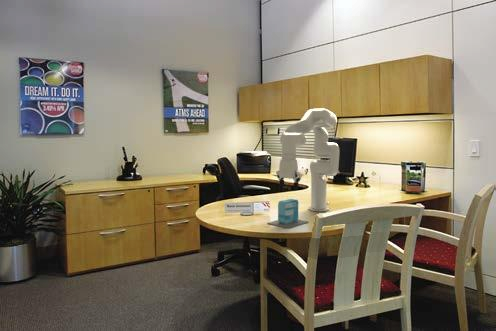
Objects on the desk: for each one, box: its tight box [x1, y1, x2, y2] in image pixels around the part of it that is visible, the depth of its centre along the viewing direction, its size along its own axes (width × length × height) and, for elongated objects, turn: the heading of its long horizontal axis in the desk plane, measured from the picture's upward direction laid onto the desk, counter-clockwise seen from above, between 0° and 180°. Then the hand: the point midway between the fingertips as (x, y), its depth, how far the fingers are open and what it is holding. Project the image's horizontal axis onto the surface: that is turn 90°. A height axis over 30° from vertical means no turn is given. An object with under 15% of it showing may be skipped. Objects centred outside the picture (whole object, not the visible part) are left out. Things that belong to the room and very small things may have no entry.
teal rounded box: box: [277, 198, 299, 224], centre depth 214 cm, size 12×4×12 cm, turn 134°
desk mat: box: [267, 218, 309, 229], centre depth 214 cm, size 18×14×1 cm
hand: (288, 188), depth 213 cm, fingers open, 9 cm apart
